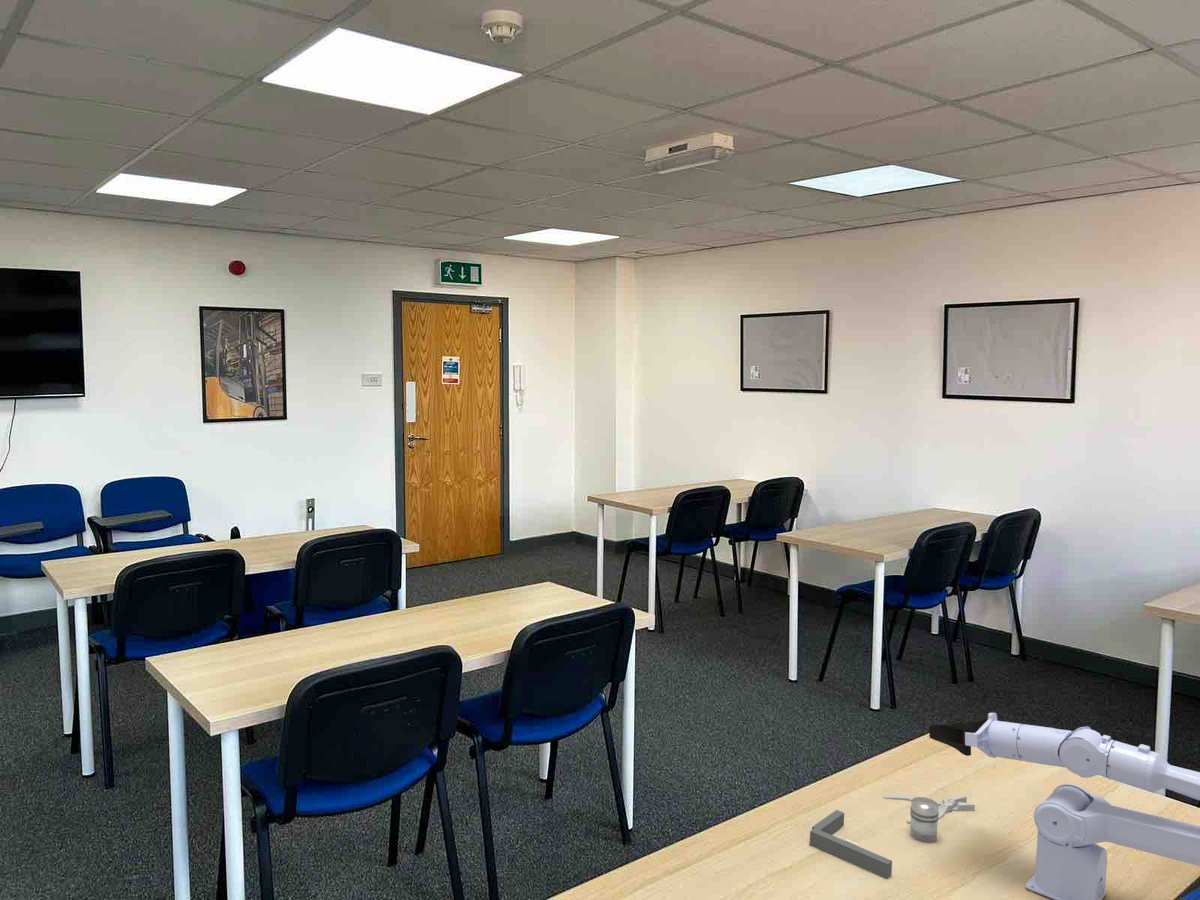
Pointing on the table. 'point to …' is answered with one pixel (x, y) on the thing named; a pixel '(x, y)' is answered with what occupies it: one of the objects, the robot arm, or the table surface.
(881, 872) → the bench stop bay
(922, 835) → the piston
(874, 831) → the table surface
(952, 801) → the pliers
